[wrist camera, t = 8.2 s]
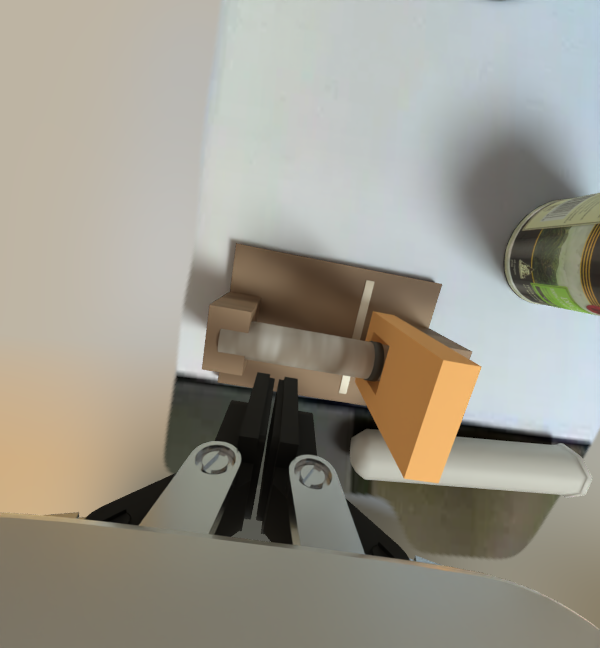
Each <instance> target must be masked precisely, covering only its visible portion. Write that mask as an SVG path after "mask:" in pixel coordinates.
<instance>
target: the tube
mask: <svg viewBox="0 0 600 648" xmlns="http://www.w3.org/2000/svg"><path fill="white" fill-rule="evenodd" d="M350 463H351V464H352V466H353V468H354V469H355V471H356V472H357V473H358V474H359V475H360V476H361V477H363V478H364V479H368V480H380V481H393V482H406V483H419V484H432V485H445V486H457V487H470V488H483V489H496V490H509V491H521V492H534V493H547V494H560V495H563V496H564V497H567V498H570V497H576V496H581V495H585V494H586V492H587V490H588V488H589V486H590V483H591V481H592V479H593V478H592V476H591V474H590V472H589V470H588V468H587V466H586V465H585V463H584V461H583V459H582V457H581V456H580V455H578V454H577V453H576V452H574V451H573V450H571V449H570V448H568V447H567V446H566V445H564V444H561V443H559V444H556V445H547V444H535V443H524V442H512V441H501V440H489V439H478V438H466V437H455V440H454V443H453V446H452V448H451V451H450V454H449V456H448V459H447V462H446V465H445V467H444V470H443V473H442V475H441V478H440V481H439V483H431V482H424V481H417V480H410V479H404V478H403V476H402V474H401V472H400V470H399V468H398V466H397V464H396V462H395V460H394V458H393V456H392V454H391V452H390V450H389V448H388V446H387V444H386V442H385V440H384V438H383V436H382V434H381V432H380V430H375V429H365V430H364V431H362V432H360V433H359V434H357V435H355V436H354V437H352V438H351V446H350Z"/></svg>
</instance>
